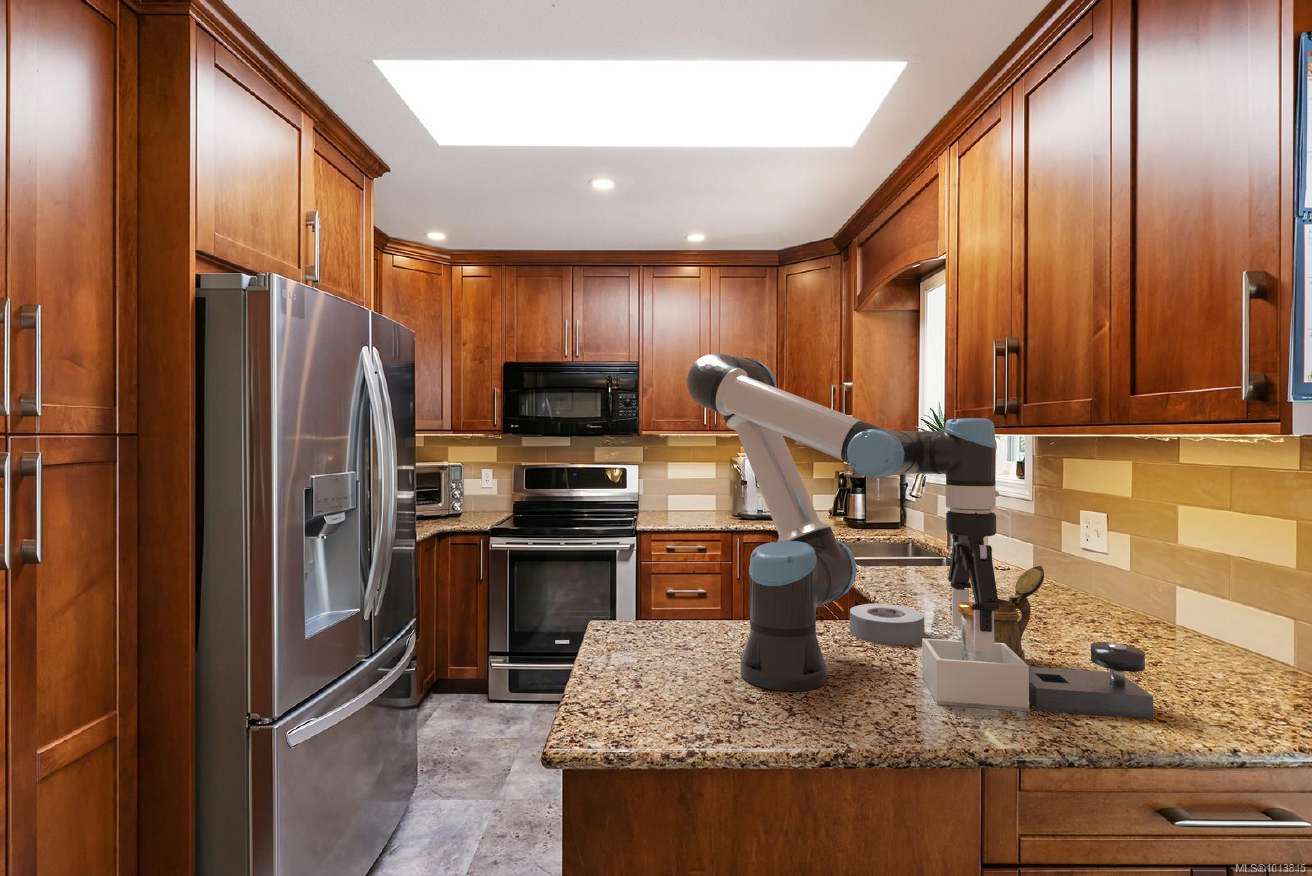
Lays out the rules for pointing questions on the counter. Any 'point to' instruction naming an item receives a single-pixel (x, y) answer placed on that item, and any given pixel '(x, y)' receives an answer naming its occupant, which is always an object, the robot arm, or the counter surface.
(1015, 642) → the wooden mug
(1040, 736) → the counter surface
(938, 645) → the parts bin
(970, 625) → the pin
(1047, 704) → the block
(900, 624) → the tape roll
